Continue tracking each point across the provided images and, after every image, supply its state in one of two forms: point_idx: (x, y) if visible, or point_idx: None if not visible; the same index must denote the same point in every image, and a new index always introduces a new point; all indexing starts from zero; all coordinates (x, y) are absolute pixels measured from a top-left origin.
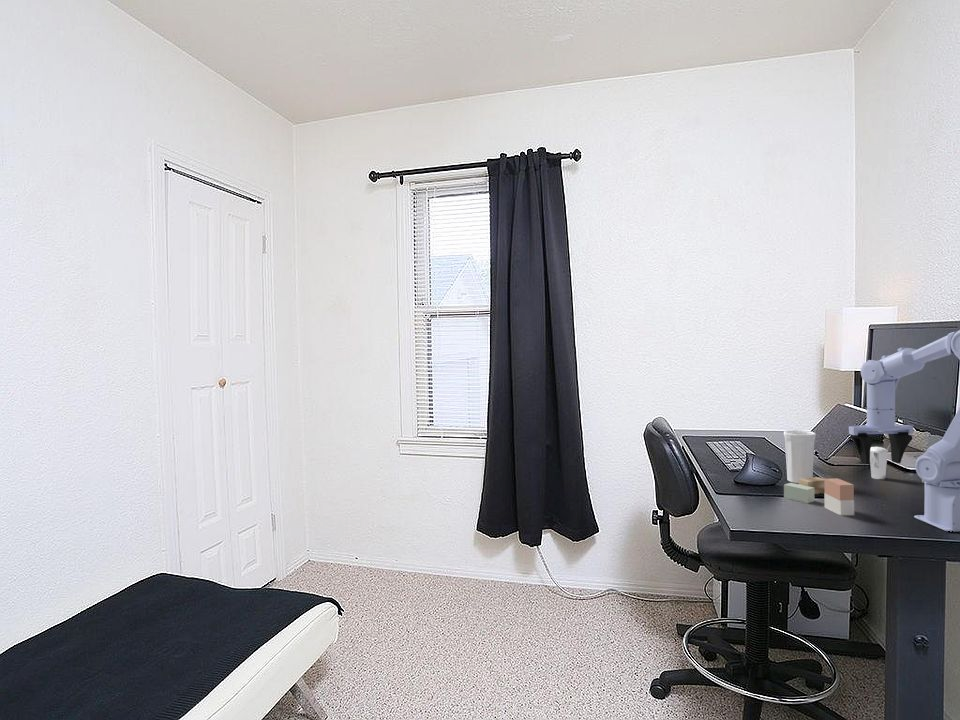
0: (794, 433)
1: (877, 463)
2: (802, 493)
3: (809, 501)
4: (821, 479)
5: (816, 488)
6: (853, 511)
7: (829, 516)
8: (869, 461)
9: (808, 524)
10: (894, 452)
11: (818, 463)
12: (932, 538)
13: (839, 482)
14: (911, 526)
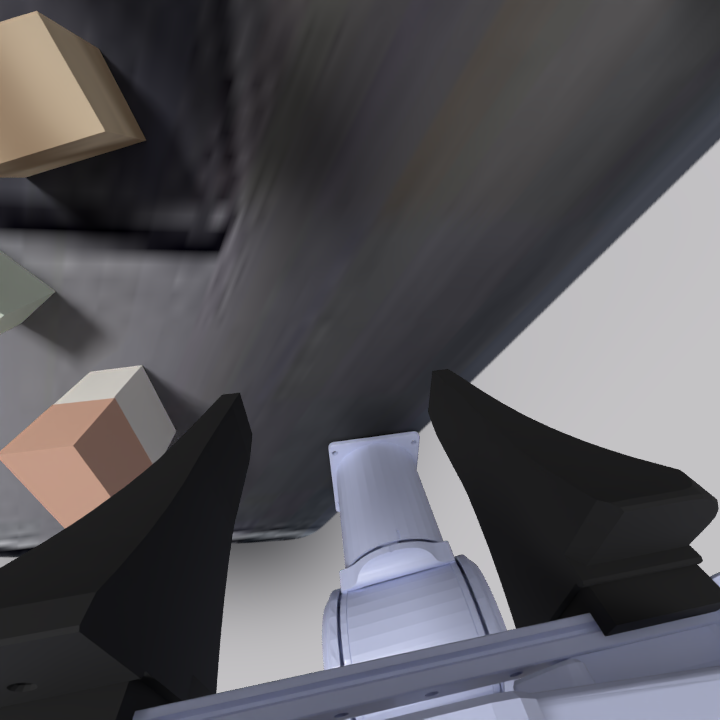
0: None
1: None
2: None
3: (26, 316)
4: (62, 110)
5: (57, 158)
6: (170, 439)
7: None
8: (248, 451)
9: (21, 503)
10: (460, 429)
11: None
12: (287, 531)
13: (70, 501)
14: (286, 486)
